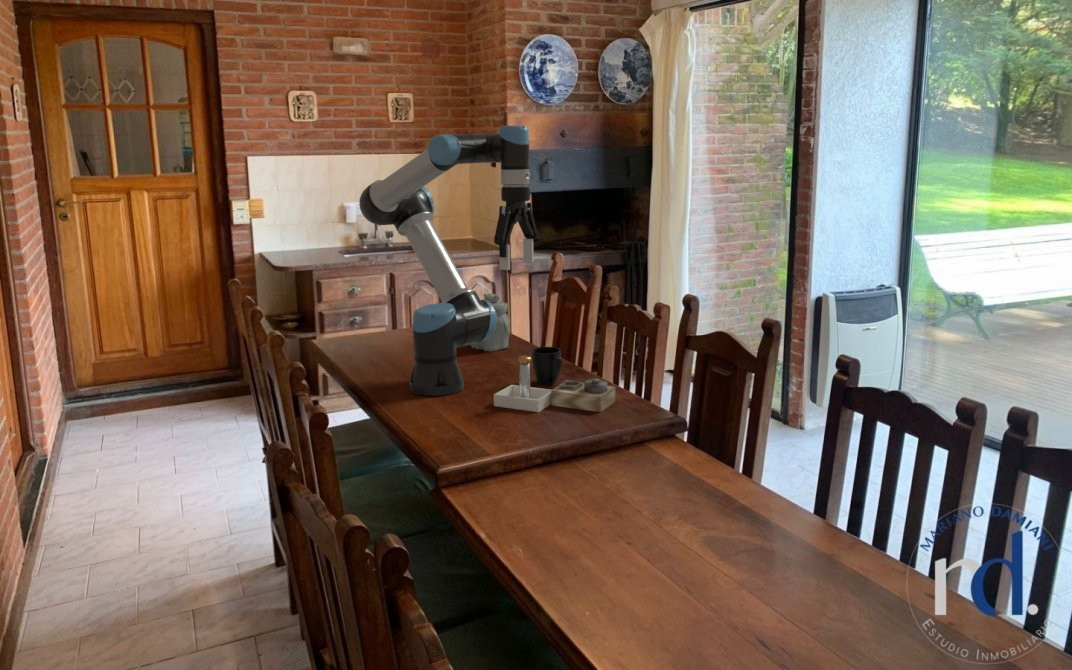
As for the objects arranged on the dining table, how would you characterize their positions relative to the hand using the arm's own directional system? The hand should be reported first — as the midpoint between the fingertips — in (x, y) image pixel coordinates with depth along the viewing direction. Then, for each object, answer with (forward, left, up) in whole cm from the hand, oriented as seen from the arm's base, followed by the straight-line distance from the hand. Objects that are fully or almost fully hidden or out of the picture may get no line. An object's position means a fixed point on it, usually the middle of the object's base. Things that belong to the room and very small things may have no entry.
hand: (517, 266), depth 231 cm
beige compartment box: (+21, -4, -35) cm, 41 cm away
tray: (+7, -10, -35) cm, 37 cm away
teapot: (-34, +41, -35) cm, 64 cm away
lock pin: (+7, -10, -34) cm, 36 cm away
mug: (+5, +9, -35) cm, 36 cm away
